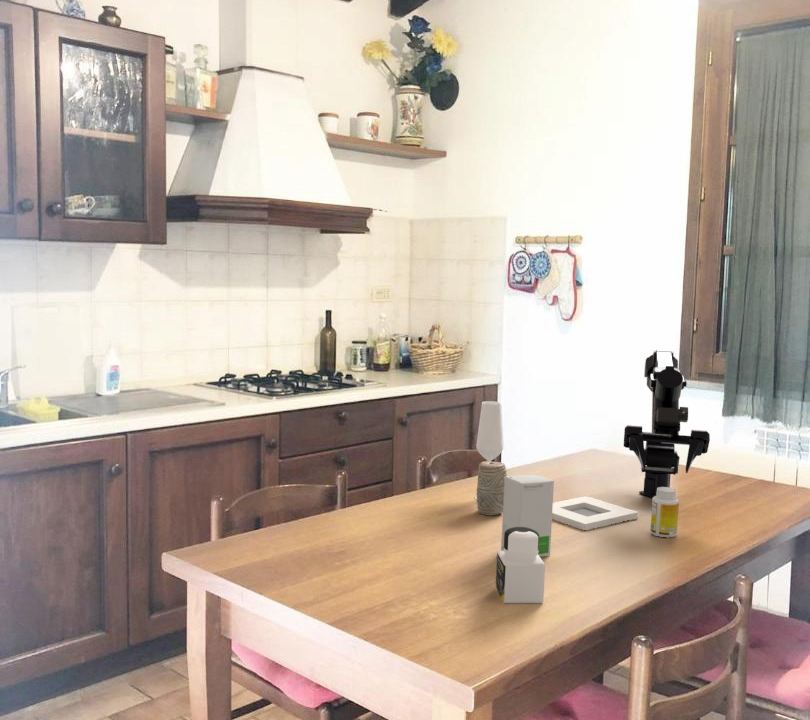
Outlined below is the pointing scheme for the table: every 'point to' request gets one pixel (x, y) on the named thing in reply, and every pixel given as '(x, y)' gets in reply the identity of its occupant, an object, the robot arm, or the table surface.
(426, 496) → the table surface
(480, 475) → the carving
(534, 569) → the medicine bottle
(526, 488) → the skincare box
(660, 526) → the supplement bottle
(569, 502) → the socket plate
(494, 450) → the champagne flute
